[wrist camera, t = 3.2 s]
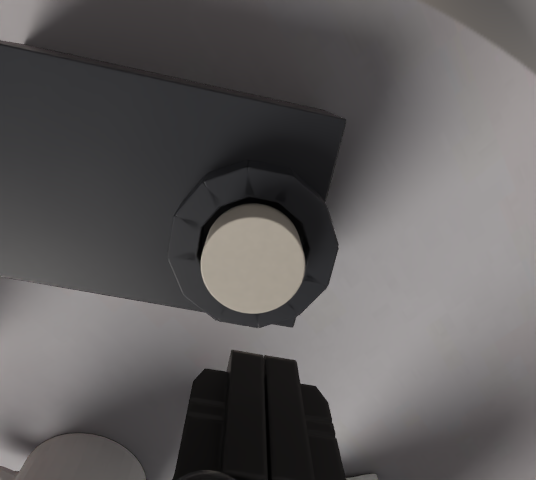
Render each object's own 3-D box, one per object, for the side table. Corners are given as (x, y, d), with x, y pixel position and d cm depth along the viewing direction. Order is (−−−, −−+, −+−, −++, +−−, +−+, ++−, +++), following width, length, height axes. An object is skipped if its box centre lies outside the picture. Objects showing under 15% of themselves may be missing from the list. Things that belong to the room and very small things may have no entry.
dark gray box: (337, 113, 25) (372, 126, 18) (295, 279, 29) (310, 351, 21) (21, 43, 24) (-86, 26, 16) (14, 227, 27) (-80, 284, 19)
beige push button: (310, 213, 19) (316, 227, 17) (288, 299, 21) (292, 322, 19) (214, 194, 19) (209, 206, 17) (198, 283, 20) (192, 304, 18)
